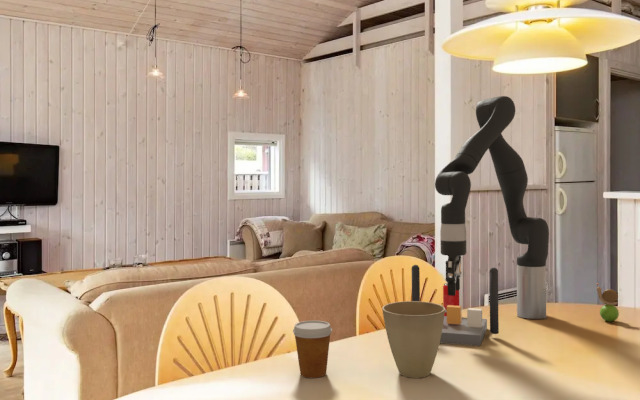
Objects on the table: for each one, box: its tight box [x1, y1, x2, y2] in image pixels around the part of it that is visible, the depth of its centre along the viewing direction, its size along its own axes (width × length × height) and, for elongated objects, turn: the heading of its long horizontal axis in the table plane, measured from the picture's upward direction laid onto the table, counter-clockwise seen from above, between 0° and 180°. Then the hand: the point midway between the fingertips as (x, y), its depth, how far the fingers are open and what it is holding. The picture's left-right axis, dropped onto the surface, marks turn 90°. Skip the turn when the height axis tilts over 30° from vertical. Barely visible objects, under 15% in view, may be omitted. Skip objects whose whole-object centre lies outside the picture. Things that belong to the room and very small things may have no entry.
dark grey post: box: [488, 267, 500, 335], centre depth 169 cm, size 2×2×19 cm
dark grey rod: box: [411, 264, 421, 302], centre depth 177 cm, size 2×2×19 cm
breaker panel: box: [439, 307, 488, 347], centre depth 173 cm, size 17×20×8 cm
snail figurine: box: [596, 282, 620, 322], centre depth 186 cm, size 5×6×12 cm
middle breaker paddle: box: [447, 305, 463, 324], centre depth 173 cm, size 4×2×5 cm, turn 69°
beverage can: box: [442, 282, 460, 316], centre depth 191 cm, size 5×5×12 cm
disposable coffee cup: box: [292, 320, 333, 379], centre depth 140 cm, size 10×10×12 cm
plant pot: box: [382, 300, 445, 379], centre depth 139 cm, size 15×15×16 cm
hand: (453, 292), depth 173 cm, fingers open, 8 cm apart
